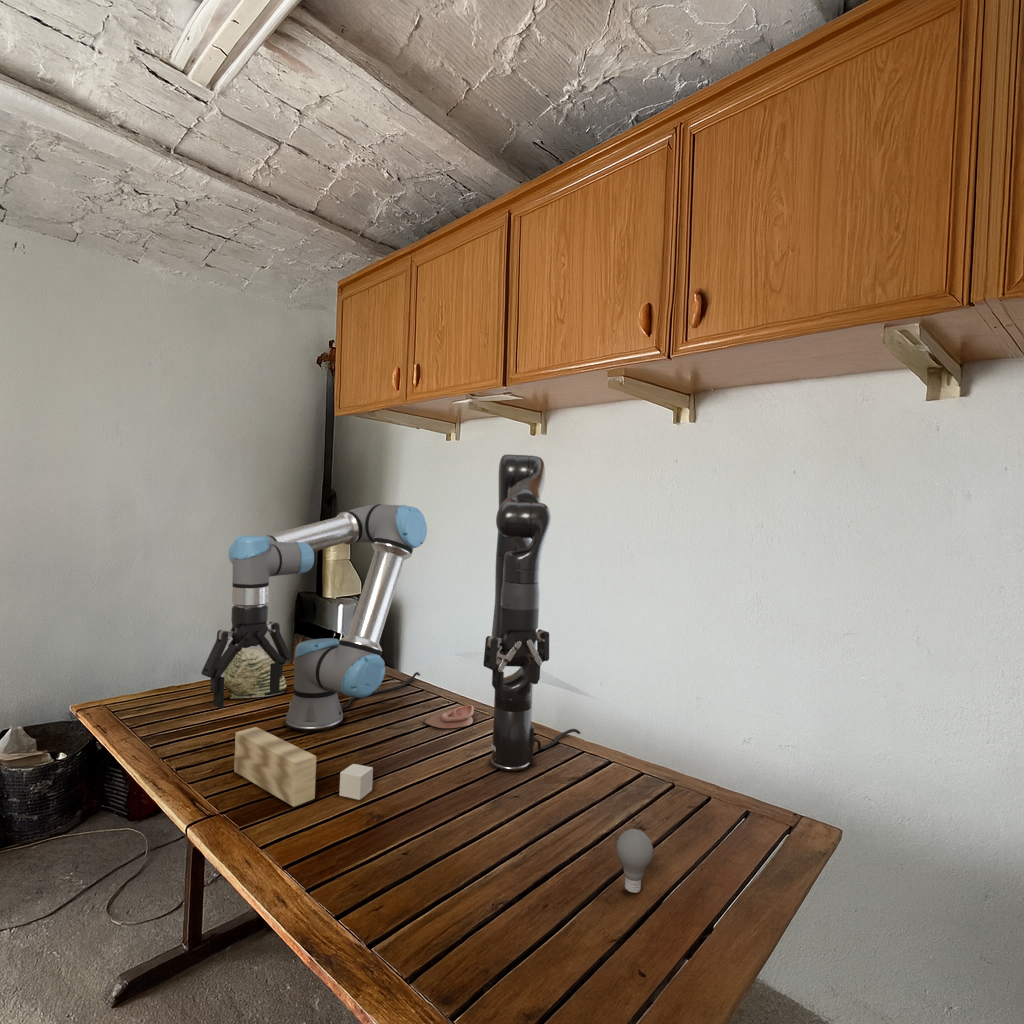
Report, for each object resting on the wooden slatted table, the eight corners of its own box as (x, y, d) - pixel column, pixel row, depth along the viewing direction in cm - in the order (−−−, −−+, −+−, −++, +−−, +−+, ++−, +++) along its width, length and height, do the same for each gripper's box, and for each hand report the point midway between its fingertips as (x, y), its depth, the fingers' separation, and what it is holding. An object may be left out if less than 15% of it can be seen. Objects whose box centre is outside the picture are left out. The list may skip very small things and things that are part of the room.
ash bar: (234, 771, 144) (235, 732, 144) (254, 764, 148) (256, 726, 148) (293, 807, 129) (295, 763, 129) (314, 798, 133) (316, 756, 133)
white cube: (352, 785, 139) (353, 763, 139) (372, 790, 138) (373, 767, 138) (339, 795, 135) (340, 772, 135) (359, 800, 133) (360, 776, 133)
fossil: (218, 695, 195) (220, 647, 195) (278, 685, 208) (279, 640, 207) (228, 703, 189) (230, 653, 188) (289, 692, 201) (290, 645, 201)
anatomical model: (421, 711, 177) (434, 699, 188) (420, 725, 177) (433, 712, 188) (466, 717, 174) (477, 704, 186) (466, 731, 174) (476, 717, 186)
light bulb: (610, 879, 108) (613, 822, 108) (644, 879, 109) (647, 822, 109) (619, 902, 102) (622, 840, 102) (655, 901, 103) (658, 840, 103)
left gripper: (288, 596, 154) (286, 683, 154) (185, 609, 133) (183, 709, 134) (307, 600, 149) (305, 689, 150) (204, 614, 129) (201, 717, 130)
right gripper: (536, 598, 130) (532, 676, 131) (478, 603, 122) (475, 686, 123) (560, 605, 124) (556, 686, 125) (501, 610, 116) (496, 698, 117)
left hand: (247, 699), depth 142 cm, fingers open, 13 cm apart
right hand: (516, 686), depth 124 cm, fingers open, 8 cm apart
